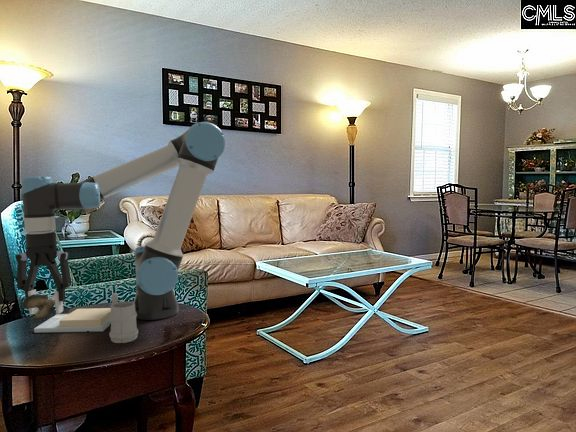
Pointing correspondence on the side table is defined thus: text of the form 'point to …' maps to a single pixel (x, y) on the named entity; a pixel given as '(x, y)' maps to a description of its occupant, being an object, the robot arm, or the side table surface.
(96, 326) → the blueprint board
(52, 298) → the eagle figurine
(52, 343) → the side table surface
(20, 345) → the side table surface
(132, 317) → the mug
